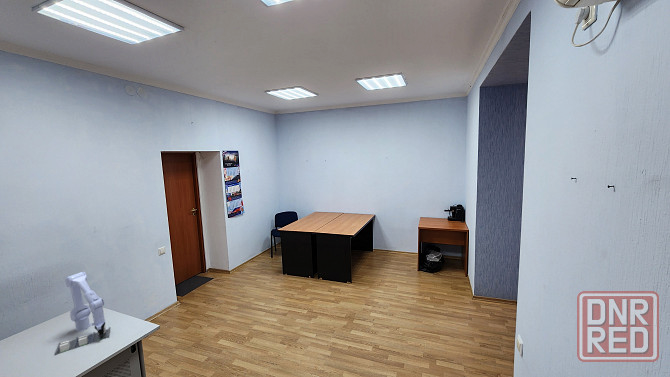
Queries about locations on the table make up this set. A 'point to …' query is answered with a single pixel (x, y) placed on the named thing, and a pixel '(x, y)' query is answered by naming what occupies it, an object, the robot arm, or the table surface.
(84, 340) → the block
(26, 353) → the table surface
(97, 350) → the table surface
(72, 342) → the panel
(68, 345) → the breaker right
